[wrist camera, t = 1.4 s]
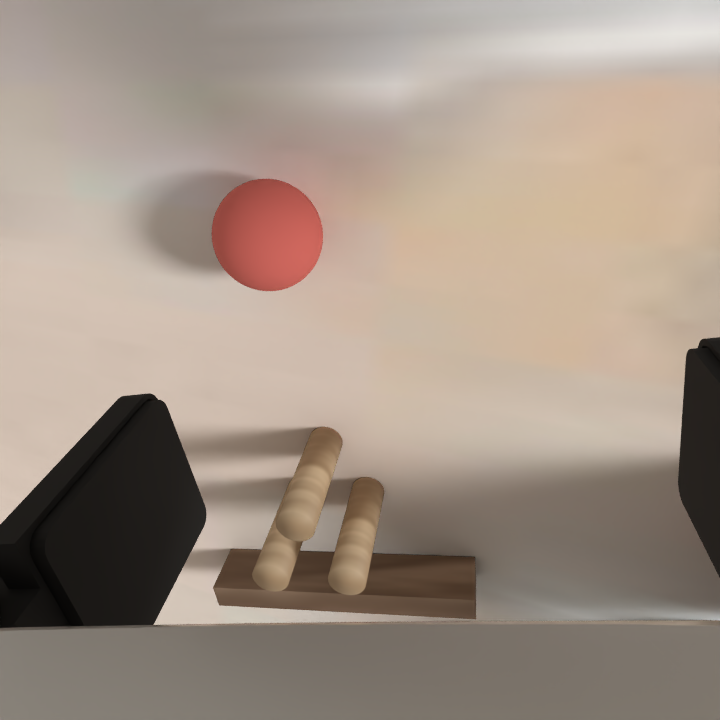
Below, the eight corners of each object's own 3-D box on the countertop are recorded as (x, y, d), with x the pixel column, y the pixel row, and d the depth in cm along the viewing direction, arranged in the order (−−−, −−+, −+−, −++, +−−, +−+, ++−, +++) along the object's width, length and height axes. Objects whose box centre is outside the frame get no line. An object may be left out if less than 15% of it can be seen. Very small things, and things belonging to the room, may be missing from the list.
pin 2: (350, 477, 44) (325, 567, 37) (382, 477, 44) (363, 568, 36) (354, 502, 45) (331, 594, 38) (385, 502, 45) (368, 596, 37)
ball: (224, 173, 35) (179, 200, 29) (324, 163, 33) (296, 188, 28) (246, 271, 37) (209, 311, 32) (339, 265, 36) (317, 305, 31)
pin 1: (285, 476, 45) (248, 564, 38) (316, 477, 45) (284, 565, 37) (291, 501, 46) (256, 590, 39) (321, 501, 46) (291, 592, 38)
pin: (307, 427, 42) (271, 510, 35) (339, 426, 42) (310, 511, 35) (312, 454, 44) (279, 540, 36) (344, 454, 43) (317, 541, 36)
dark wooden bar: (231, 548, 50) (213, 587, 47) (474, 556, 46) (474, 600, 42) (236, 566, 51) (219, 605, 47) (475, 575, 47) (475, 619, 43)
